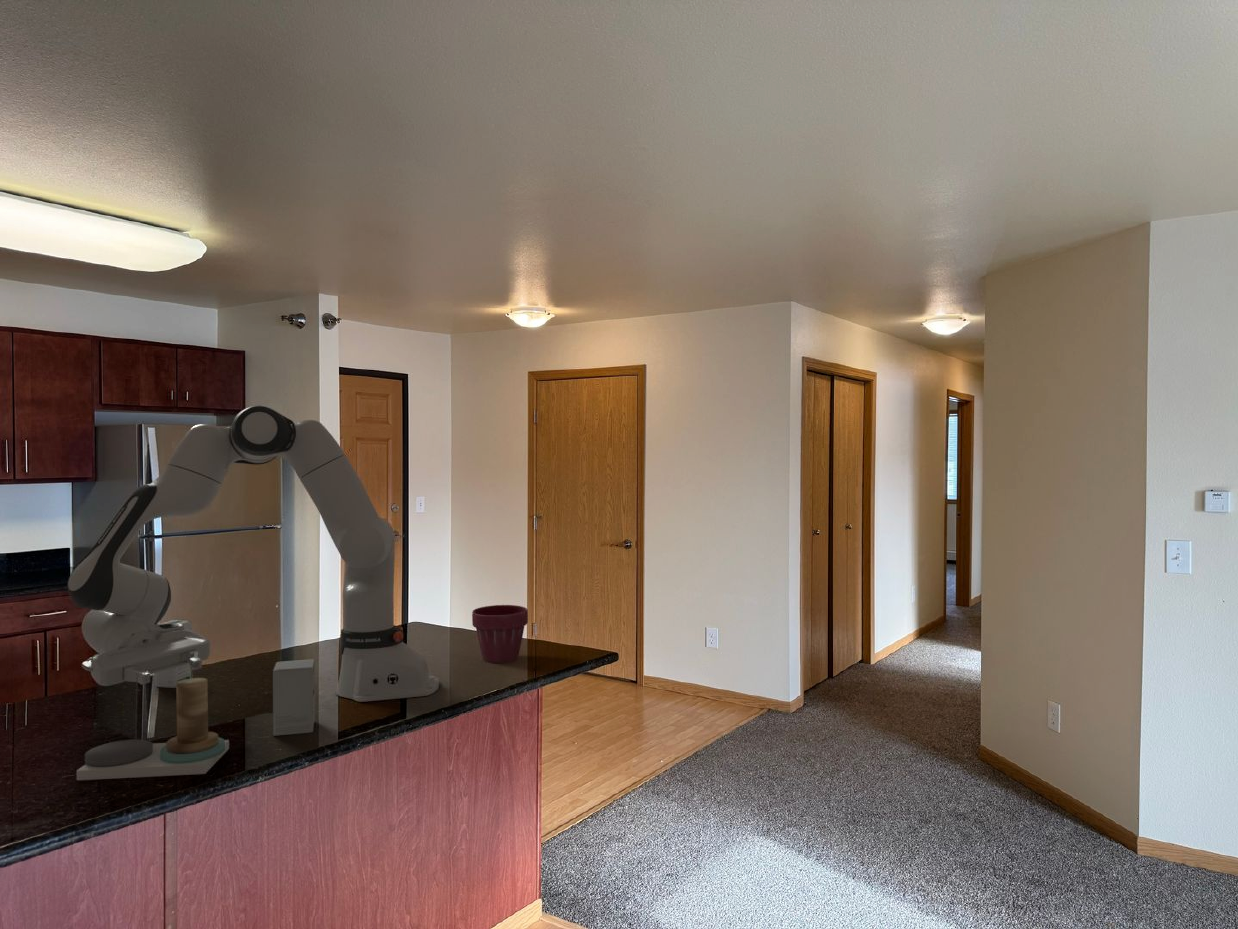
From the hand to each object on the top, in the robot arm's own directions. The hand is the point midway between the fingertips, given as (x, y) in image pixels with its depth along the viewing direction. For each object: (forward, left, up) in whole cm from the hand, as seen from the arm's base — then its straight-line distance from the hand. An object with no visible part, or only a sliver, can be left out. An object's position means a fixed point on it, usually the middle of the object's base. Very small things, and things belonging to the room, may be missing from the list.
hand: (172, 672), depth 155 cm
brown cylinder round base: (-7, +10, -10) cm, 16 cm away
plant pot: (-59, -56, -13) cm, 82 cm away
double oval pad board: (-1, +10, -13) cm, 17 cm away
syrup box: (+16, -43, -13) cm, 48 cm away
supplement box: (-20, -6, -14) cm, 25 cm away
